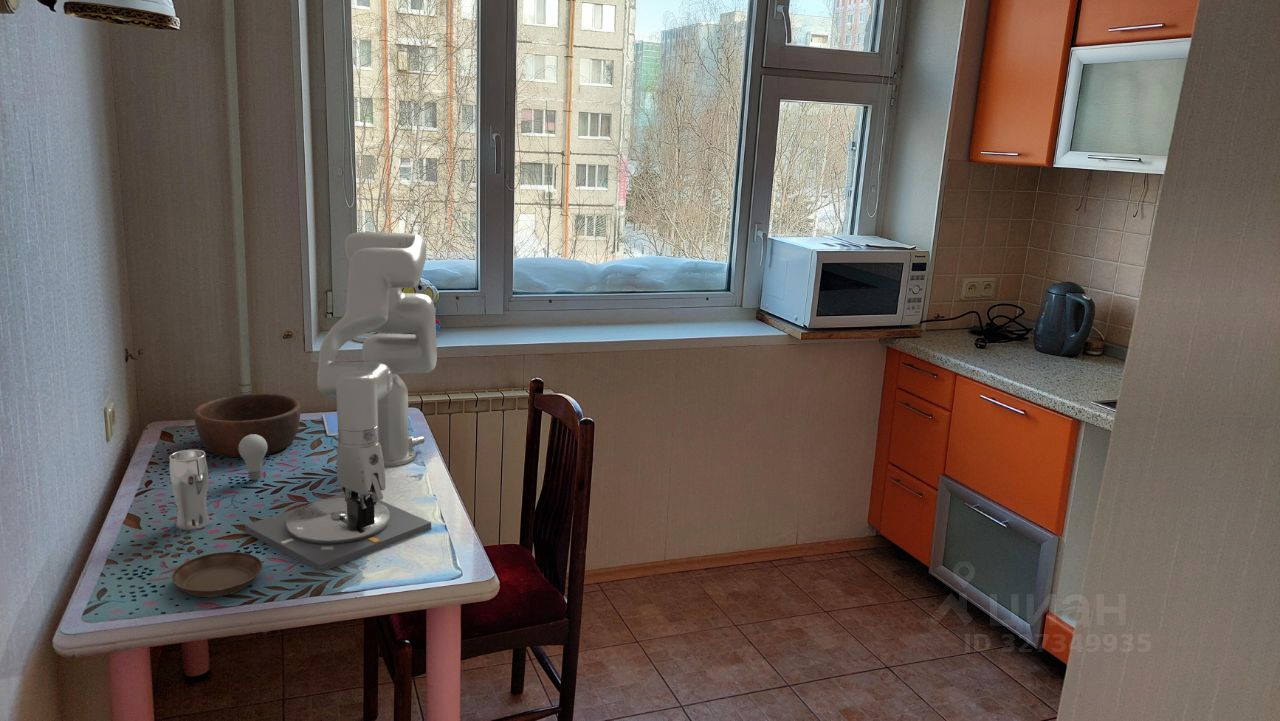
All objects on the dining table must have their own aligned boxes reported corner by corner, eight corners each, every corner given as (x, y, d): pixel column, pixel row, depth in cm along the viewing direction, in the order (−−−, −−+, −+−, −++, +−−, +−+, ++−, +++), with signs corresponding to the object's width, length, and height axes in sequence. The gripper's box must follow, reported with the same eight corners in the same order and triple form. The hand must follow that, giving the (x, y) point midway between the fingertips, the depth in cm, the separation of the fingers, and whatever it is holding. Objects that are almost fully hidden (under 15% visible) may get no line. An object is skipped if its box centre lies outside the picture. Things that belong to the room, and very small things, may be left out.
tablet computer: (322, 417, 259) (322, 413, 259) (368, 414, 264) (368, 409, 263) (327, 439, 242) (327, 434, 241) (376, 435, 246) (376, 430, 246)
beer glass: (175, 519, 189) (169, 450, 185) (212, 515, 191) (207, 447, 188) (173, 533, 183) (166, 462, 179) (211, 528, 185) (206, 458, 182)
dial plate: (355, 495, 204) (354, 488, 204) (431, 529, 189) (431, 521, 189) (245, 531, 184) (244, 524, 184) (320, 572, 169) (319, 564, 169)
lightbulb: (275, 478, 212) (272, 433, 210) (254, 487, 207) (251, 441, 204) (255, 473, 215) (253, 429, 212) (234, 482, 209) (231, 436, 207)
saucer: (281, 575, 168) (280, 562, 167) (215, 611, 155) (214, 597, 154) (222, 558, 174) (221, 544, 173) (153, 591, 161) (152, 577, 160)
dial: (269, 519, 186) (267, 486, 184) (359, 495, 200) (358, 464, 198) (314, 553, 173) (313, 517, 171) (408, 524, 186) (407, 491, 185)
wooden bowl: (301, 426, 249) (300, 390, 247) (303, 457, 227) (301, 417, 224) (200, 433, 241) (197, 396, 238) (191, 466, 218) (188, 425, 215)
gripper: (400, 439, 176) (402, 528, 180) (349, 421, 186) (353, 506, 190) (367, 448, 170) (370, 540, 174) (316, 429, 180) (320, 516, 184)
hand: (361, 521), depth 182 cm, fingers closed on dial, 3 cm apart
